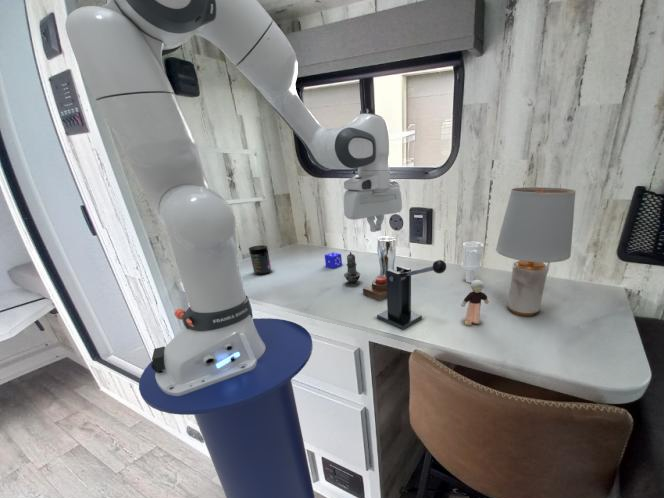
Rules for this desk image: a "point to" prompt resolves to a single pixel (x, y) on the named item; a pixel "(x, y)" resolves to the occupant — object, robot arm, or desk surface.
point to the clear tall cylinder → (471, 259)
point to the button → (381, 280)
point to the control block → (376, 290)
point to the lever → (426, 269)
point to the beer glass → (386, 254)
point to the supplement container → (260, 260)
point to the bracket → (399, 300)
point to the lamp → (535, 241)
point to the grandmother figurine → (474, 302)
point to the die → (333, 260)
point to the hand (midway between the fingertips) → (375, 231)
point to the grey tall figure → (352, 271)
